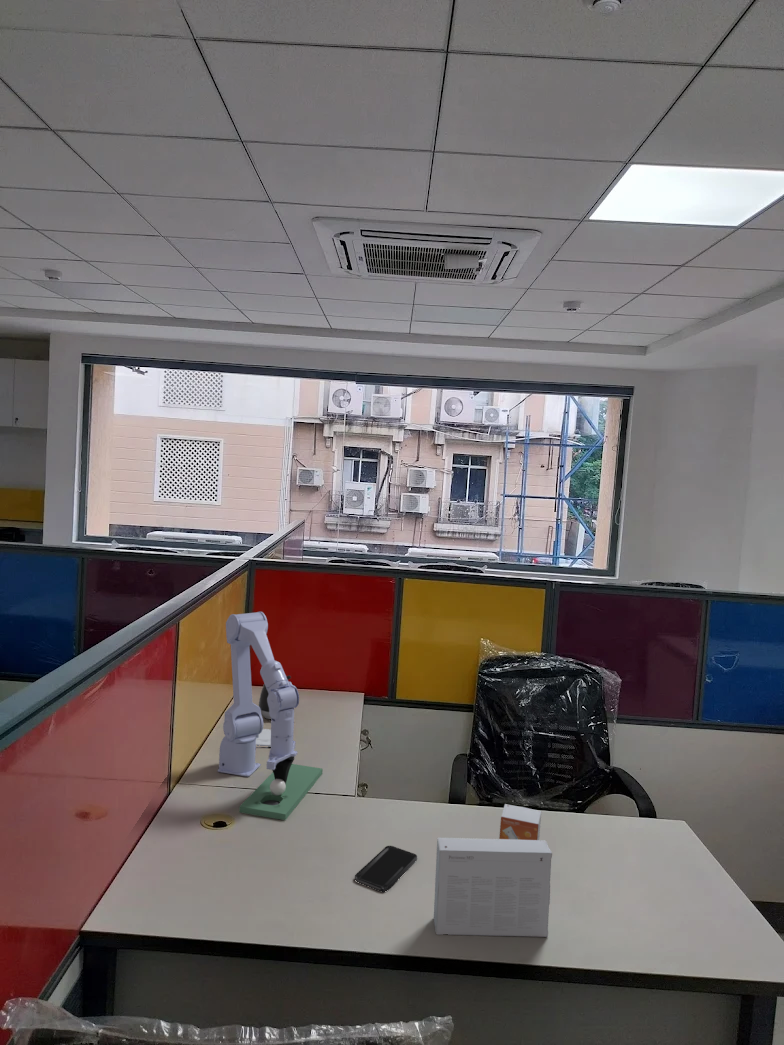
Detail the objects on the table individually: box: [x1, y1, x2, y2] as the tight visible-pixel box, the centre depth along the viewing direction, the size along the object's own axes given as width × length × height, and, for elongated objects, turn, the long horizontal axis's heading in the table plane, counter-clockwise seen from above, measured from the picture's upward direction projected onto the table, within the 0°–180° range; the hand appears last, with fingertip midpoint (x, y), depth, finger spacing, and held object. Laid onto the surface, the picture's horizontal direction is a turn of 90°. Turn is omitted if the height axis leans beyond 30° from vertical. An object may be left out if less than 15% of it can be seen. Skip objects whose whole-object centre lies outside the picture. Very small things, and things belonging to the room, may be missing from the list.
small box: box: [498, 803, 542, 840], centre depth 144 cm, size 8×6×13 cm
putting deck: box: [238, 763, 324, 821], centre depth 175 cm, size 12×27×2 cm, turn 167°
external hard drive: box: [256, 728, 271, 747], centre depth 208 cm, size 2×8×12 cm
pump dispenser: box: [258, 674, 292, 720], centre depth 228 cm, size 10×10×15 cm
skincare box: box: [433, 837, 553, 938], centre depth 125 cm, size 21×6×16 cm, turn 92°
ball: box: [270, 779, 286, 796], centre depth 170 cm, size 4×4×4 cm
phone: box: [354, 845, 418, 893], centre depth 142 cm, size 8×1×15 cm
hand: (280, 785), depth 171 cm, fingers closed, pressing on ball
